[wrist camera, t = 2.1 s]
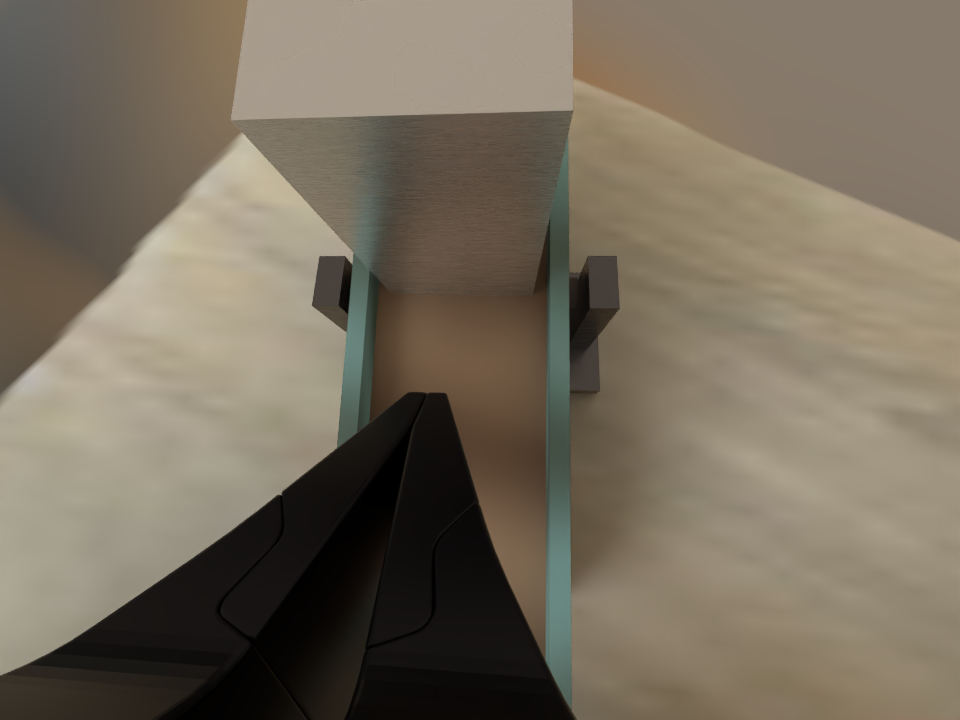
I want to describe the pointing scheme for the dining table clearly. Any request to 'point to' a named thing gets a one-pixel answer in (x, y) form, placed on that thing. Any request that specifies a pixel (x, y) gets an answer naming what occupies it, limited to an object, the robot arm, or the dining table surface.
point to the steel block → (417, 129)
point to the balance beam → (489, 410)
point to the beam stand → (584, 321)
